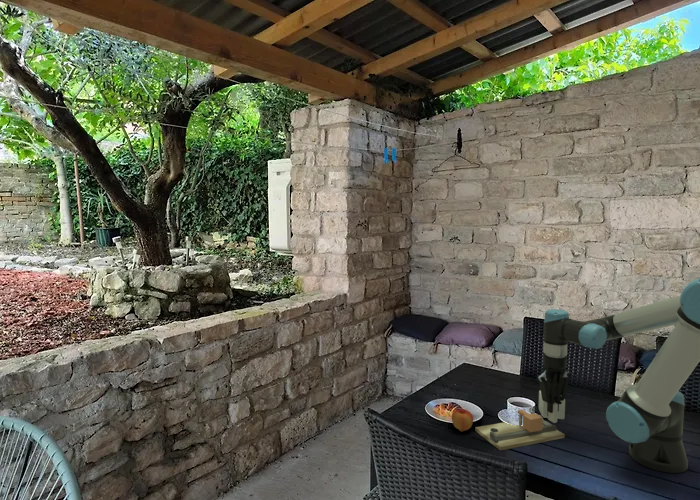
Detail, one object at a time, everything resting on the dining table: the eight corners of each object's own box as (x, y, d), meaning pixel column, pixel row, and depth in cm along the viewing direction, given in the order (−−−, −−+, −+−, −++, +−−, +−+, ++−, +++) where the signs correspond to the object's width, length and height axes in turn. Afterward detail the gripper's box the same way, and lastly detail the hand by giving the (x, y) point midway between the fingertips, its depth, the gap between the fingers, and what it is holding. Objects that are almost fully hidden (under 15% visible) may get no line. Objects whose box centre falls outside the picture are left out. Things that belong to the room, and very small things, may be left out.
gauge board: (564, 437, 153) (564, 427, 153) (500, 450, 145) (500, 439, 144) (535, 420, 166) (535, 410, 166) (475, 430, 158) (475, 420, 158)
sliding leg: (542, 433, 152) (542, 417, 152) (530, 435, 151) (530, 419, 150) (525, 422, 160) (525, 407, 160) (513, 424, 159) (514, 409, 158)
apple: (460, 436, 154) (461, 414, 153) (447, 427, 160) (447, 406, 160) (477, 432, 157) (477, 410, 156) (463, 423, 164) (464, 402, 163)
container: (564, 419, 166) (566, 385, 165) (542, 417, 168) (543, 384, 167) (559, 410, 174) (560, 378, 173) (538, 409, 175) (539, 376, 174)
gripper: (561, 349, 160) (559, 413, 161) (531, 353, 155) (529, 418, 157) (578, 356, 152) (575, 422, 154) (547, 359, 148) (545, 428, 150)
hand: (552, 420), depth 156 cm, fingers closed
